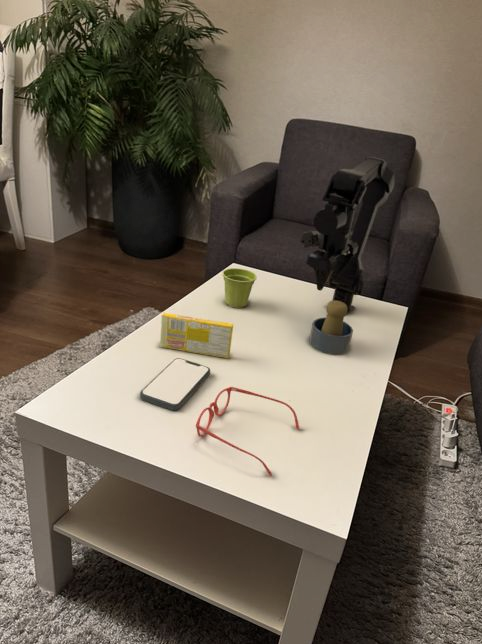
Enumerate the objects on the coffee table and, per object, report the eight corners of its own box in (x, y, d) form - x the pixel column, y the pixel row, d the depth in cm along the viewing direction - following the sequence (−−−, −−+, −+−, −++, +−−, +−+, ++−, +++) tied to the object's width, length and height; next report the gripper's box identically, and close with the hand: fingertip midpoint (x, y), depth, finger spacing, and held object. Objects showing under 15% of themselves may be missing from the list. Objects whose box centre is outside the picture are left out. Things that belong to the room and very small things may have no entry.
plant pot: (218, 294, 153) (221, 266, 149) (251, 297, 155) (255, 269, 151) (219, 309, 145) (223, 279, 141) (254, 312, 147) (258, 282, 143)
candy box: (230, 354, 125) (234, 323, 121) (228, 359, 123) (232, 327, 119) (161, 343, 125) (163, 311, 121) (159, 347, 124) (161, 315, 120)
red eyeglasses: (227, 399, 109) (230, 379, 107) (301, 426, 105) (306, 405, 103) (185, 447, 95) (187, 425, 93) (269, 480, 91) (273, 458, 88)
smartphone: (177, 413, 104) (212, 374, 117) (177, 407, 103) (212, 367, 116) (137, 399, 106) (175, 362, 119) (137, 393, 105) (176, 356, 118)
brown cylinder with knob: (343, 341, 138) (353, 302, 133) (336, 350, 133) (346, 310, 128) (322, 333, 140) (330, 295, 134) (314, 342, 135) (322, 303, 130)
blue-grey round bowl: (319, 330, 143) (323, 313, 140) (354, 344, 139) (359, 327, 136) (302, 344, 135) (305, 326, 132) (338, 359, 131) (343, 341, 128)
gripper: (325, 210, 140) (314, 266, 148) (292, 224, 125) (282, 285, 133) (364, 221, 136) (351, 278, 143) (335, 237, 121) (322, 299, 129)
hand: (326, 284), depth 137 cm, fingers open, 9 cm apart
